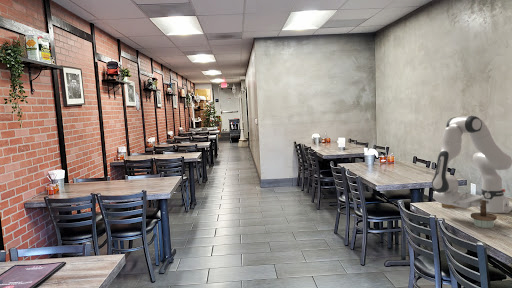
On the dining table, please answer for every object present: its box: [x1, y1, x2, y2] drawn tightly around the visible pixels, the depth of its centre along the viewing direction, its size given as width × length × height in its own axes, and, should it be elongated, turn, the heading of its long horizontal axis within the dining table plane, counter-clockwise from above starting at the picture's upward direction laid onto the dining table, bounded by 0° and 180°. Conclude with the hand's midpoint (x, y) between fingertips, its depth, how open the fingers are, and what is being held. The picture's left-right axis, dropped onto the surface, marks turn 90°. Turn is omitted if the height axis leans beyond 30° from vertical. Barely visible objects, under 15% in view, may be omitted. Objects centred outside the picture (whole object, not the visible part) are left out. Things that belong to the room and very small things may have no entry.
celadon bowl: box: [473, 219, 495, 229], centre depth 208 cm, size 10×10×4 cm
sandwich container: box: [440, 203, 456, 209], centre depth 255 cm, size 9×15×15 cm, turn 153°
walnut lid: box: [470, 200, 498, 221], centre depth 208 cm, size 13×13×10 cm
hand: (484, 203), depth 207 cm, fingers open, 8 cm apart
